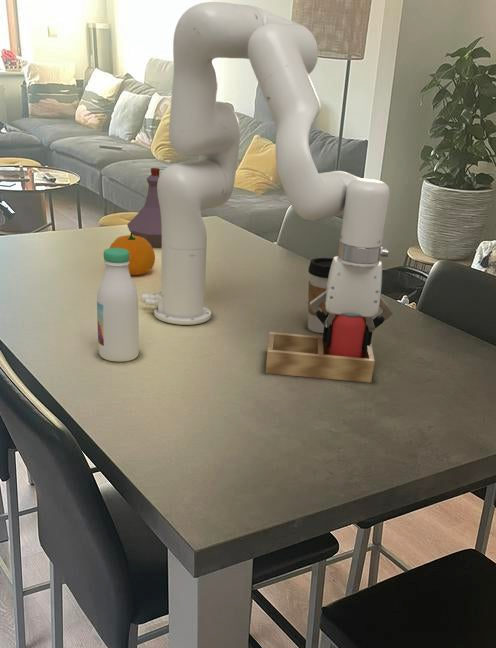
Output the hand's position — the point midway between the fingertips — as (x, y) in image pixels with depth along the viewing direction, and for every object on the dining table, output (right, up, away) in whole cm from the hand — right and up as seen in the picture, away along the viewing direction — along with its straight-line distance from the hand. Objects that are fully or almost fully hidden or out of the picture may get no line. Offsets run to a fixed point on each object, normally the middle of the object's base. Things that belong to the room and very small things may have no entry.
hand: (345, 346), depth 151 cm
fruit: (-49, +29, +48) cm, 74 cm away
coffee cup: (-3, +8, +22) cm, 24 cm away
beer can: (0, -4, +3) cm, 5 cm away
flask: (-47, +45, +73) cm, 97 cm away
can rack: (-5, -4, +3) cm, 7 cm away
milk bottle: (-44, -2, 0) cm, 44 cm away
